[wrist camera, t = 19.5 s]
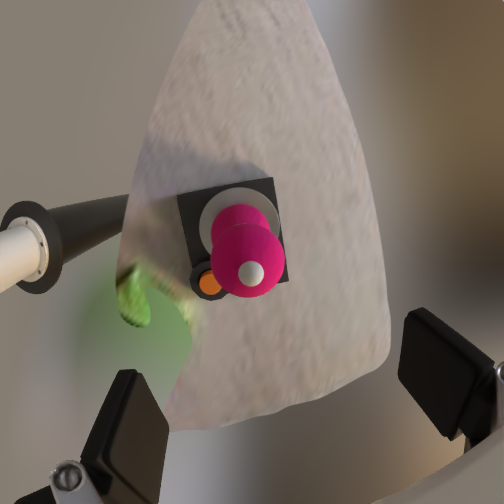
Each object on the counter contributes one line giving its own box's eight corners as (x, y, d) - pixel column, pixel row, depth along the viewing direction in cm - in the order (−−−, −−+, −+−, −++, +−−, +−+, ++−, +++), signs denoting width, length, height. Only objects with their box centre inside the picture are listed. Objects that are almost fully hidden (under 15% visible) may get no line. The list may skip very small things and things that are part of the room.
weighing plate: (208, 271, 40) (208, 273, 39) (192, 195, 37) (191, 196, 36) (283, 257, 40) (284, 258, 40) (271, 181, 38) (272, 181, 37)
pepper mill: (270, 206, 38) (315, 234, 18) (259, 257, 39) (291, 330, 20) (217, 197, 37) (206, 215, 17) (208, 249, 38) (192, 317, 19)
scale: (197, 295, 44) (195, 303, 41) (174, 195, 40) (170, 196, 37) (287, 278, 44) (291, 285, 42) (271, 177, 40) (274, 176, 37)
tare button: (203, 292, 41) (202, 296, 39) (198, 272, 40) (197, 276, 38) (224, 288, 41) (223, 292, 39) (219, 268, 40) (219, 271, 39)
